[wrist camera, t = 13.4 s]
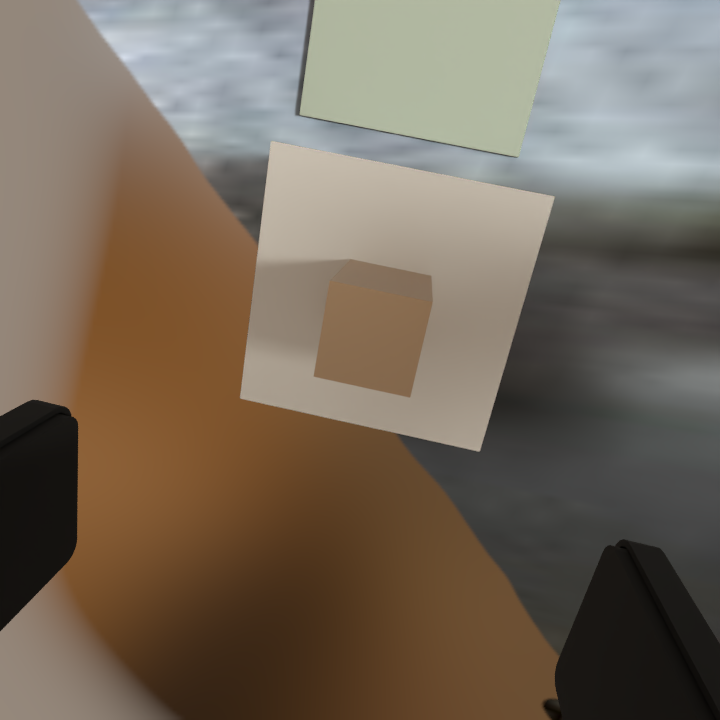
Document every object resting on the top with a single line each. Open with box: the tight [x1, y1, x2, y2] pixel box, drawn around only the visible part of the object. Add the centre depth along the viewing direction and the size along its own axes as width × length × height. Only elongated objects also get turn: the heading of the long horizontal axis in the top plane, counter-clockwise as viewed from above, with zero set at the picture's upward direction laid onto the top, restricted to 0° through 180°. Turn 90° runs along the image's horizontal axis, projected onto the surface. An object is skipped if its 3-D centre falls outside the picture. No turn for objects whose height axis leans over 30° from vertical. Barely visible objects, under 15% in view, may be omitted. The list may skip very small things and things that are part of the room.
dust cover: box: [240, 141, 555, 452], centre depth 31 cm, size 13×13×22 cm
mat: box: [299, 0, 560, 157], centre depth 36 cm, size 16×16×1 cm
